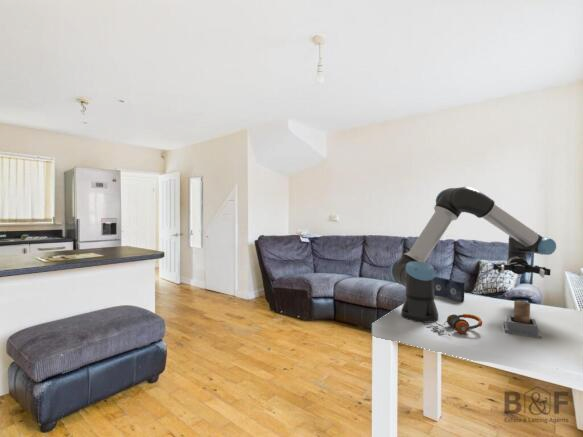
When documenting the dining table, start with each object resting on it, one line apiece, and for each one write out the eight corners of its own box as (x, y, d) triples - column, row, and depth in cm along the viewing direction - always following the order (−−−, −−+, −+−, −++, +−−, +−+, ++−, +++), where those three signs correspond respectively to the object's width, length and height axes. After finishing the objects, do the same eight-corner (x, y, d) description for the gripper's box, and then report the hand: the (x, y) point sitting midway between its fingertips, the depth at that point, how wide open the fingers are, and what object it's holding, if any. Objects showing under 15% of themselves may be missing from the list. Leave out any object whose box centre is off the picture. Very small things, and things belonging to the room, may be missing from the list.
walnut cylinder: (514, 328, 125) (514, 303, 125) (513, 324, 130) (513, 300, 129) (530, 331, 123) (530, 305, 122) (528, 327, 127) (529, 301, 127)
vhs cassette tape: (464, 301, 166) (464, 282, 166) (460, 302, 164) (461, 283, 164) (434, 293, 182) (434, 275, 182) (430, 294, 181) (430, 276, 181)
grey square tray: (505, 332, 124) (505, 322, 124) (504, 323, 134) (504, 314, 134) (541, 338, 119) (541, 327, 118) (537, 328, 128) (537, 318, 128)
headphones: (418, 316, 135) (464, 305, 136) (421, 328, 135) (467, 317, 136) (439, 332, 118) (491, 319, 119) (442, 346, 118) (494, 332, 119)
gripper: (551, 276, 146) (560, 285, 128) (487, 270, 159) (486, 277, 141) (552, 260, 146) (561, 266, 127) (487, 254, 158) (487, 259, 140)
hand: (522, 272), depth 134 cm, fingers open, 13 cm apart
